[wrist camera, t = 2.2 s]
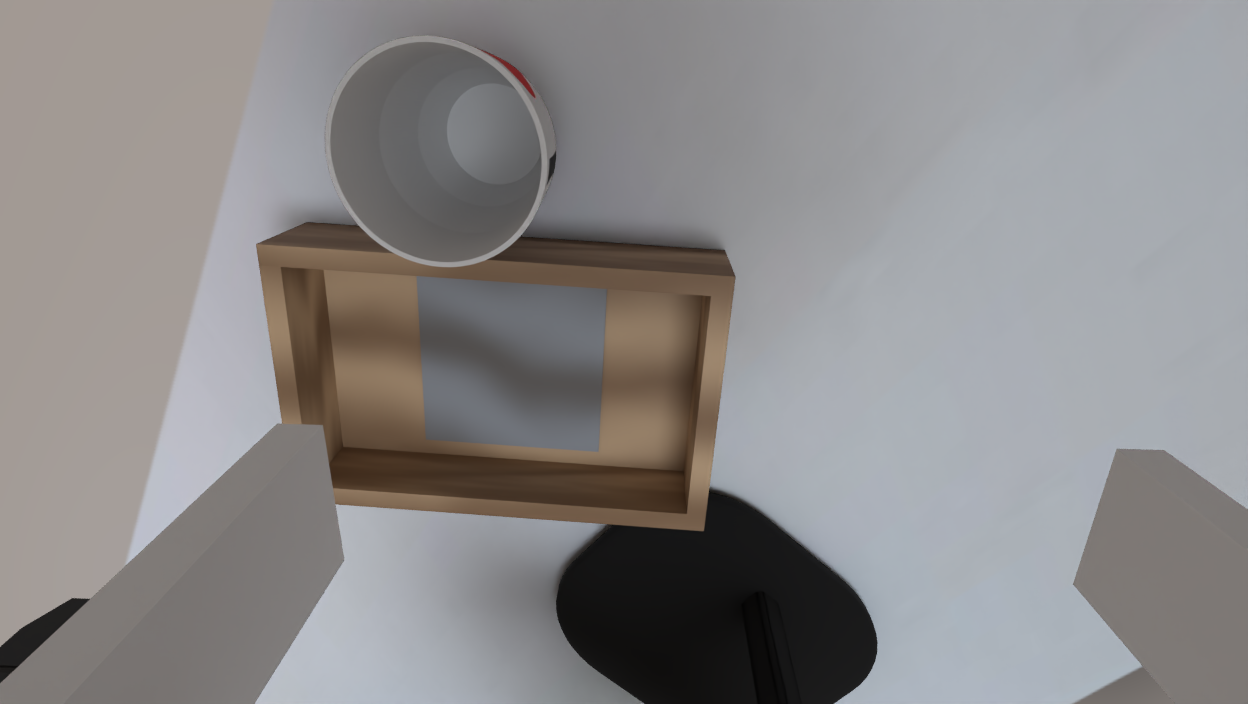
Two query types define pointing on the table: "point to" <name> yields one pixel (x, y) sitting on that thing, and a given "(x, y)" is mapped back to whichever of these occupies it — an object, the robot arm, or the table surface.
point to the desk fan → (715, 614)
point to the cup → (439, 150)
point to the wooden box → (505, 374)
